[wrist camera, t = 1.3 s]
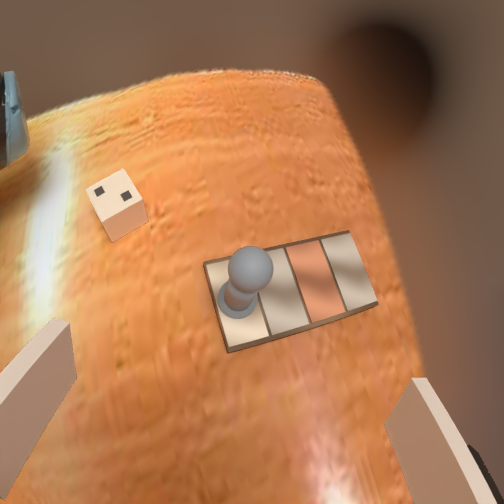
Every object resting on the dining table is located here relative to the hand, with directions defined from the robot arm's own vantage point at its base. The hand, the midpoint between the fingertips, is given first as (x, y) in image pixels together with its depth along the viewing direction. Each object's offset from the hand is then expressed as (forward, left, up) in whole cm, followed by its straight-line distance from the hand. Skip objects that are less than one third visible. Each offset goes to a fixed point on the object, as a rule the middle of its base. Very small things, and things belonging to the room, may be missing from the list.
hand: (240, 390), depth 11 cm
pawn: (-9, +6, -27) cm, 29 cm away
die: (-25, -7, -29) cm, 39 cm away
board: (-9, +14, -29) cm, 33 cm away
